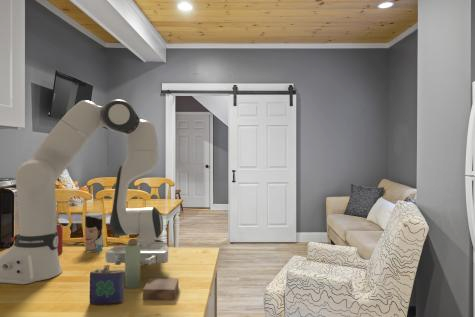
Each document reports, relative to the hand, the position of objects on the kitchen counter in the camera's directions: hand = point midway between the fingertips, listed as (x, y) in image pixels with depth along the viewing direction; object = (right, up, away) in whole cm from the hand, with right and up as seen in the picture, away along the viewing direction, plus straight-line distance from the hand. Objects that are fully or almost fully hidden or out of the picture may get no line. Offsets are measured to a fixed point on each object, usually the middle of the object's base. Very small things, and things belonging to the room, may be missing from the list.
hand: (132, 262), depth 116 cm
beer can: (-41, -6, +33) cm, 53 cm away
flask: (-4, -8, -12) cm, 15 cm away
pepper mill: (0, -7, +1) cm, 8 cm away
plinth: (+10, -8, -5) cm, 14 cm away
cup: (-27, -6, +40) cm, 49 cm away
